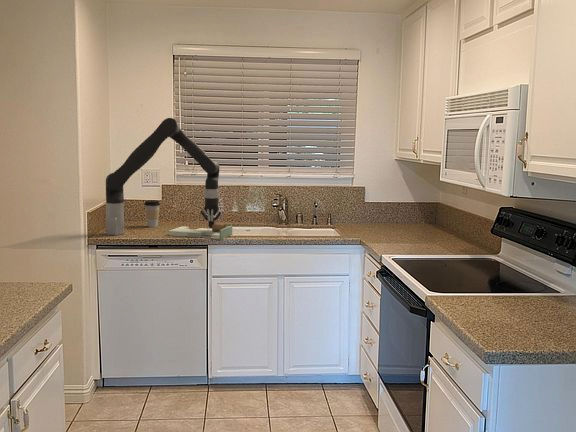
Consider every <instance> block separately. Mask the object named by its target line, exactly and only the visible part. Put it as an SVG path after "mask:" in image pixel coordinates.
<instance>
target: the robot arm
mask: <svg viewBox="0 0 576 432" xmlns="http://www.w3.org/2000/svg"><path fill="white" fill-rule="evenodd" d="M168 138H170V139H171V140H172V141H175V142H176V143H177V144H178V145H180V147H182V149H184V151H185V152H186V153H187V154H188V155H189V156H191V158H192V159H193V160H194V161H195V162H197V164H198V165H199V166H200V167H201V169H202V170H203V171H204V172H206V179H205V190H204V207H203V209H202V210H200V214H201V215H202V217H203V218H204V220H206V221H208V227H209V228H208V229H212V224H215V221H218V220H219V218H220V217H221V216H222V214H223V211H221V210H220V207H219V197H220V196H219V176H220V164H219V162H218V161H216V160H212V159H211V158H210V157H209V156H208V155H207V153H206V151H205V150H204V149H203V148H202V147H201V146H199V145H198V144H197V143H196V142H195V141H193V140H192V139H190V138H189V137H188V136H187V135H186V134H185V133H184V131H182V129H181V128H180V126H179V123H178V122H177V120H176V119H175V118H173V117H168V118H165V119H163V120H162V121H161V123H160V124H159V125H158V127H156V129H155V130H154V131H153V132H152V133H151V134H150V135H149V136H148V137H147V138H145V140H143V141H142V142H141V143H140V144H139V145H138V146H137V147H136V148H134V149H133V151H132V152H131V153H130V154H129V156H128V157H127V158H126V160H125V161H124V163H122V164H121V166H120V167H118V168H117V169H116V170H115V171H114V172H111V173H108V175H107V176H106V178H105V209H106V210H105V213H106V214H105V215H106V216H105V235H107V236H108V235H109V236H119V235H124V234H125V210H124V209H125V206H124V205H125V202H124V201H125V198H124V197H125V195H124V194H125V193H124V185H125V184H126V182H128V180H129V179H130V178H131V177H132V176H133V175H134V174H135V173H136V172H138V171H139V170H140V169H141V168H142V167H143V166H144V165H145V164H147V163H148V162H149V161H150V160H151V159H152V158H153V157H154V155H155V154H156V152H158V150H159V148H160V146H161V145H162V144H163V143H164V142H165V141H166V140H167V139H168Z"/></svg>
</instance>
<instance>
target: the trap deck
mask: <svg viewBox="0 0 576 432" xmlns="http://www.w3.org/2000/svg"><path fill="white" fill-rule="evenodd" d="M168 236H175V237H185V236H188V237H187V238H197V237H202V238H201V239H209V238H211V237H212V238H213V239H212V240H223V239H225V238H224V237H226V238H228V237H231V236H233V225H229V226H227V227H226V228H224V229H221V230H220V232H217V231H212V228H205V227H204V228H203V227H200V228H196V229H191V228H190V227H189V226H179V227H176V228H173V229H170V230H168ZM227 236H228V237H227Z"/></svg>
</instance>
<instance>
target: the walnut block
mask: <svg viewBox="0 0 576 432" xmlns="http://www.w3.org/2000/svg"><path fill="white" fill-rule="evenodd" d="M227 224H228V223H224V222H222V223H221V222H216V223H215V222H214V224H212V228H211V229H212V231H217V232H220V230H221V229H224V228H226V227H228V226H227Z"/></svg>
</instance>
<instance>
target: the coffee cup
mask: <svg viewBox="0 0 576 432" xmlns="http://www.w3.org/2000/svg"><path fill="white" fill-rule="evenodd" d="M143 205H144V207H145V218H146V225H147V228H157V227H158V226H159V225H158V224H159V218H160V206H161V203H160V200H145V202H144V203H143Z"/></svg>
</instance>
